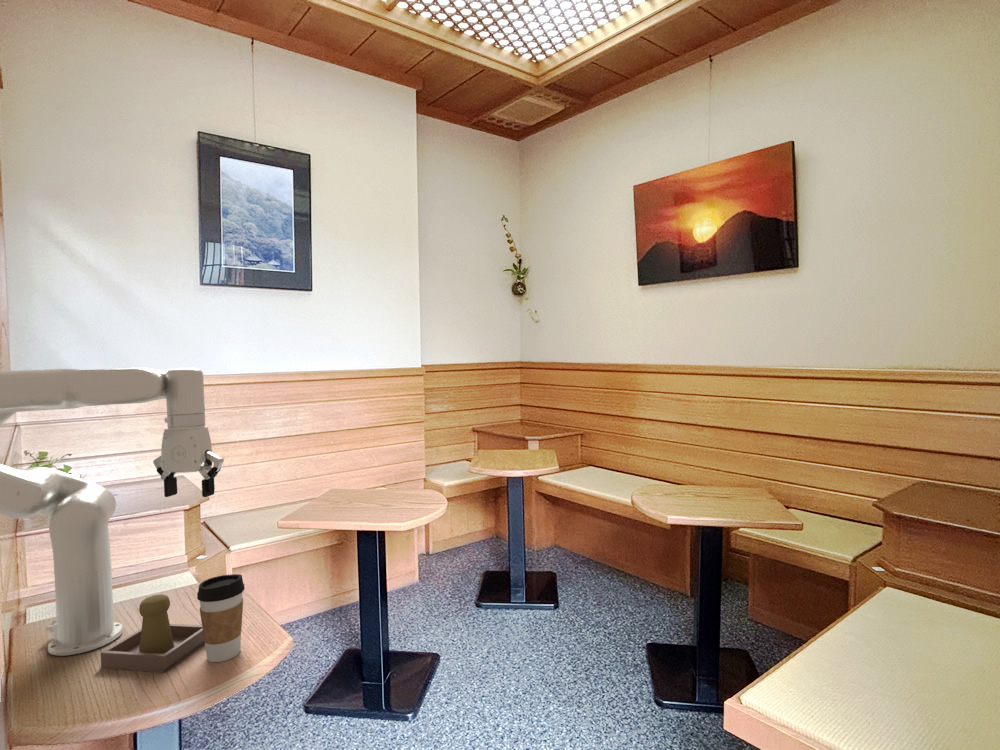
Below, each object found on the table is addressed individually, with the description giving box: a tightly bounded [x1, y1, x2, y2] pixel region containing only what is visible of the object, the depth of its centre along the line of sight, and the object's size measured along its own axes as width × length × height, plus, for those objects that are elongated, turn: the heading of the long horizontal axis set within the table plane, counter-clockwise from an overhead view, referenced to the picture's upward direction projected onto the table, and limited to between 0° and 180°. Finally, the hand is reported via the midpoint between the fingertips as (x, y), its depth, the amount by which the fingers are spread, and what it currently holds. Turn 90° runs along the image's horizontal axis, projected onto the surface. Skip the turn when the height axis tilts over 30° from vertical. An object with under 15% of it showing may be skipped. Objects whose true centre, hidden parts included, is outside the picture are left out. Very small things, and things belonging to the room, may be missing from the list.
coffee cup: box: [196, 573, 245, 663], centre depth 105 cm, size 8×8×15 cm
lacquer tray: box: [100, 623, 205, 673], centre depth 106 cm, size 14×12×3 cm
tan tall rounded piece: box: [138, 593, 174, 654], centre depth 106 cm, size 6×6×11 cm
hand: (189, 495), depth 122 cm, fingers open, 9 cm apart
